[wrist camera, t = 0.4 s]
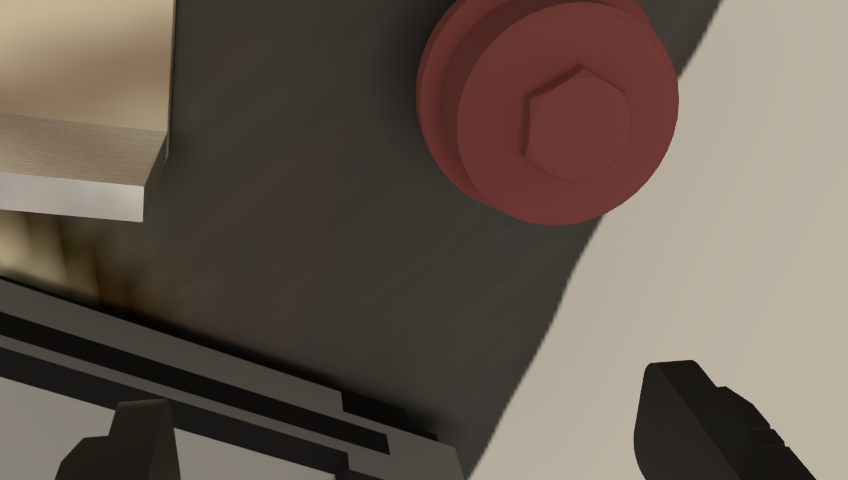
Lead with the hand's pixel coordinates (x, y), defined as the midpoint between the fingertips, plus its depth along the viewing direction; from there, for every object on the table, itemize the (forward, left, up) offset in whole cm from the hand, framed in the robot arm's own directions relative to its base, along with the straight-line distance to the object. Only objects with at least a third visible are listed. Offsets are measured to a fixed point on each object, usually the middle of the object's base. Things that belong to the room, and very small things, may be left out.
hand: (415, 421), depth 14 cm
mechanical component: (-1, +8, -28) cm, 29 cm away
